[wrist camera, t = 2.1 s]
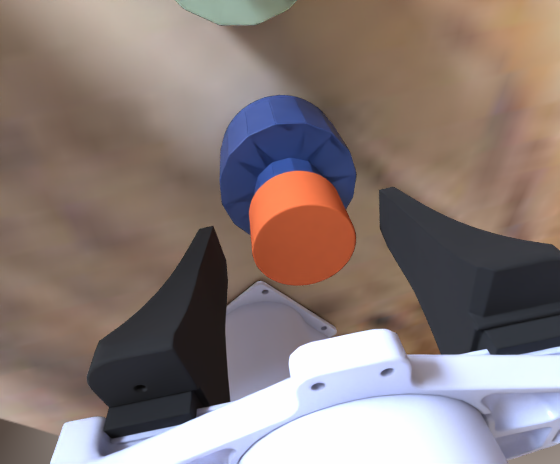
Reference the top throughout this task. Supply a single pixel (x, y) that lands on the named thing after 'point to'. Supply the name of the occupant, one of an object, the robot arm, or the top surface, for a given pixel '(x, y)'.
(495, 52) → the top surface
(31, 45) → the top surface
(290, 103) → the blue ribbed hub
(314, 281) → the bung
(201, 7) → the green ribbed hub
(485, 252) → the robot arm
